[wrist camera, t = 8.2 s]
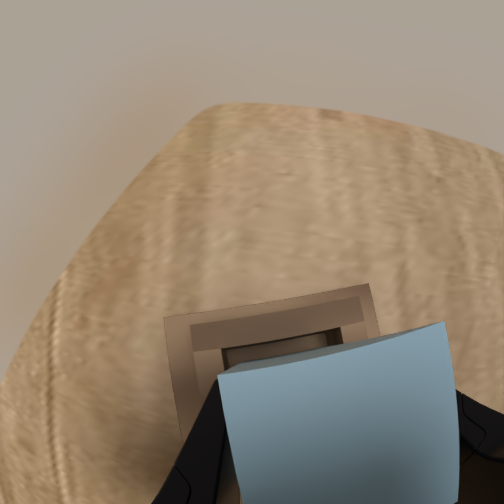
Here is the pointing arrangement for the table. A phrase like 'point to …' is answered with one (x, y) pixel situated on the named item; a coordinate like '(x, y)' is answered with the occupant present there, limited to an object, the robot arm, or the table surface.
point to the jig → (259, 338)
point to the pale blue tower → (347, 423)
